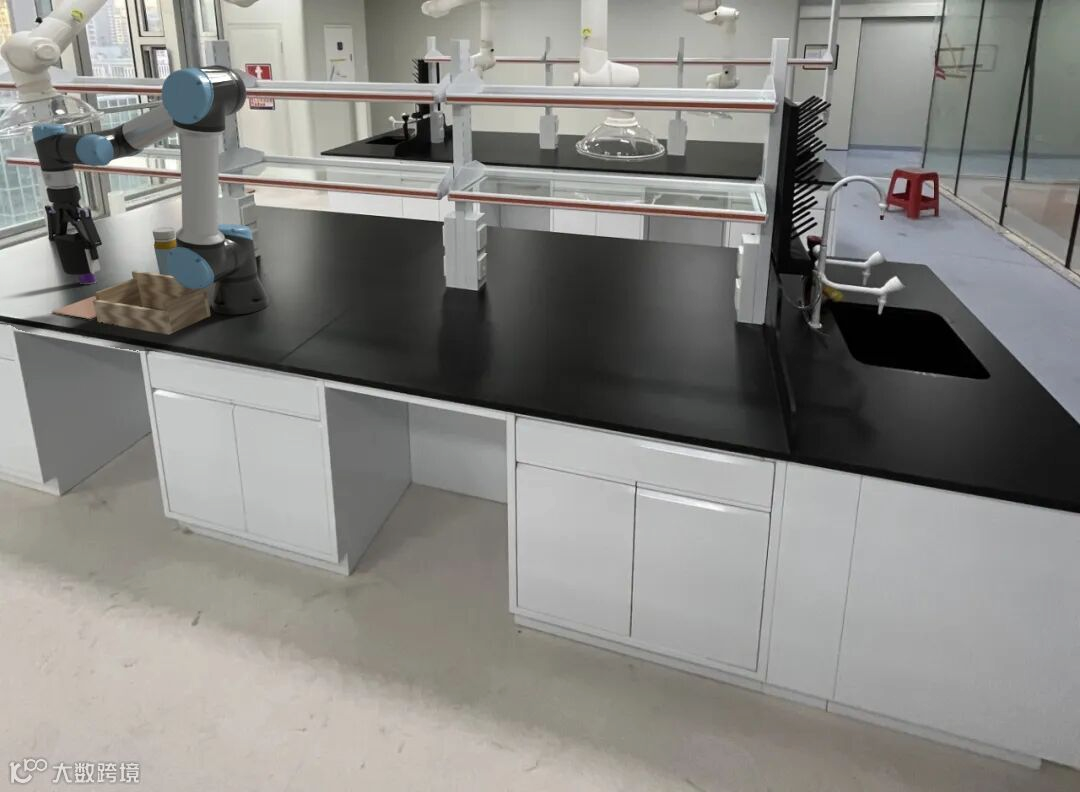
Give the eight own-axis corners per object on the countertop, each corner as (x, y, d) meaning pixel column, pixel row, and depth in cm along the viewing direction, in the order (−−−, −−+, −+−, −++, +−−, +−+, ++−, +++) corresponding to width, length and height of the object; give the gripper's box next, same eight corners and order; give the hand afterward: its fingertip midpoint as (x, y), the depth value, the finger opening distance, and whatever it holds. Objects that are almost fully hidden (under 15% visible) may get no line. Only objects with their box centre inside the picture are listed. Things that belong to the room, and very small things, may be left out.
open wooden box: (210, 315, 222) (204, 280, 217) (168, 334, 209) (161, 297, 204) (142, 304, 230) (134, 270, 225) (97, 322, 217) (89, 286, 212)
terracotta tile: (131, 304, 230) (130, 302, 229) (90, 320, 218) (89, 318, 217) (94, 298, 234) (93, 296, 234) (52, 313, 222) (51, 311, 222)
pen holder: (86, 276, 216) (77, 240, 212) (54, 274, 218) (45, 238, 213) (108, 266, 225) (100, 231, 220) (78, 264, 226) (69, 229, 222)
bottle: (173, 281, 249) (164, 233, 242) (155, 278, 251) (145, 231, 244) (189, 274, 255) (180, 228, 248) (171, 272, 257) (162, 226, 250)
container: (78, 285, 244) (66, 236, 238) (81, 281, 248) (69, 233, 242) (95, 284, 245) (83, 235, 239) (98, 279, 250) (87, 232, 243)
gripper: (18, 185, 211) (40, 267, 221) (80, 192, 204) (100, 277, 214) (44, 179, 218) (64, 260, 228) (105, 186, 211) (123, 270, 221)
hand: (82, 268), depth 221 cm, fingers closed on pen holder, 9 cm apart
